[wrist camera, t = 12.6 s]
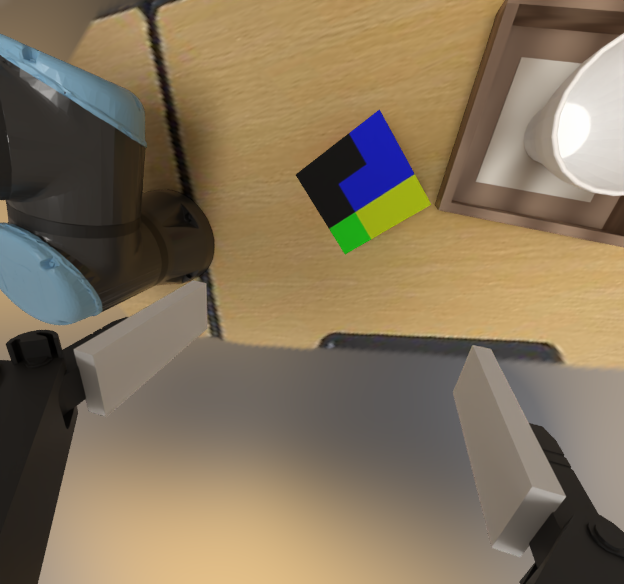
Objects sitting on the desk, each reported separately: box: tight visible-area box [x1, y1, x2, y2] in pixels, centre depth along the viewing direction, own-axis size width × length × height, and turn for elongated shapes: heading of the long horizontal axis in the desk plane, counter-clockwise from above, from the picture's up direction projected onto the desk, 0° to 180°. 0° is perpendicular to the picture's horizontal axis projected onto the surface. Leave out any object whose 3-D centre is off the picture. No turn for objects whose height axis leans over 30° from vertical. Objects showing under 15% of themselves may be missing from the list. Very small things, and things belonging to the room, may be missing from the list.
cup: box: [524, 33, 624, 196], centre depth 26 cm, size 10×10×14 cm
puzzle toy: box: [296, 110, 431, 254], centre depth 35 cm, size 10×10×10 cm
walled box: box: [435, 0, 624, 247], centre depth 31 cm, size 19×19×5 cm
